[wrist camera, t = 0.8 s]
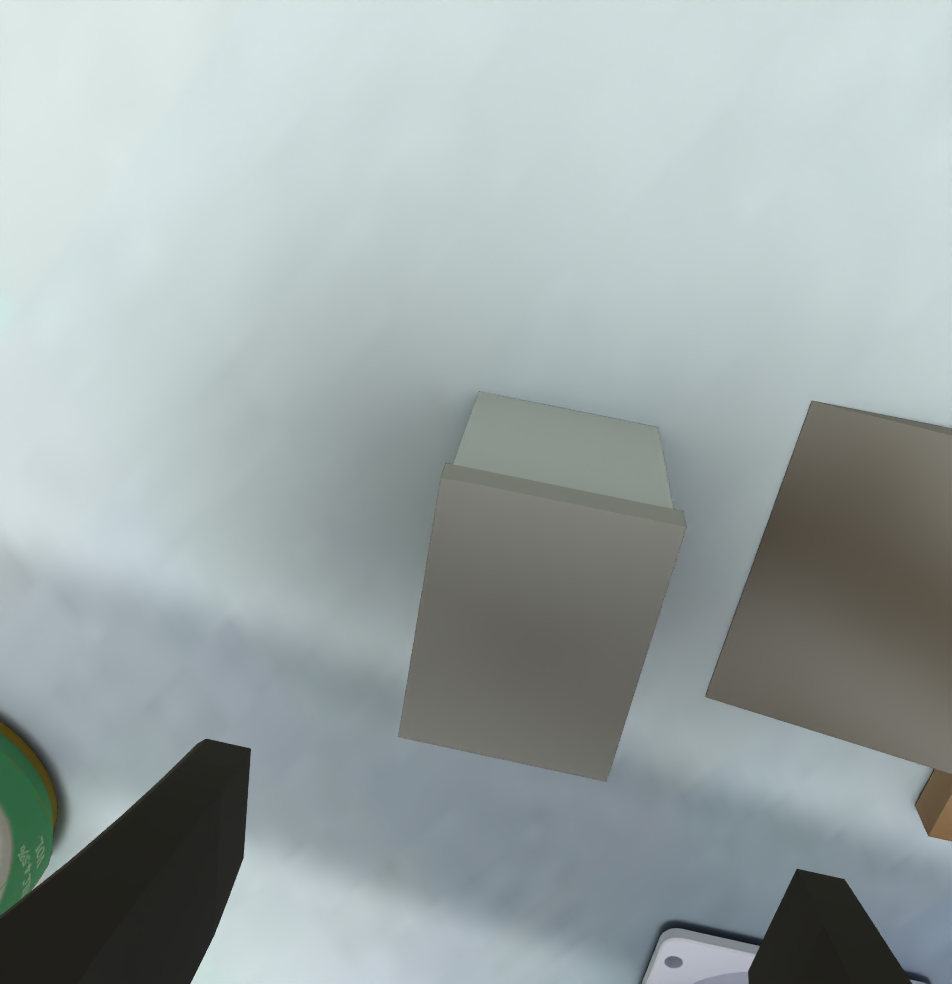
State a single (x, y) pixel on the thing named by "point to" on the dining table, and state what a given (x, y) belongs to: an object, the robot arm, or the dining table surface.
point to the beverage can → (23, 818)
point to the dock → (856, 596)
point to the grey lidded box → (541, 586)
